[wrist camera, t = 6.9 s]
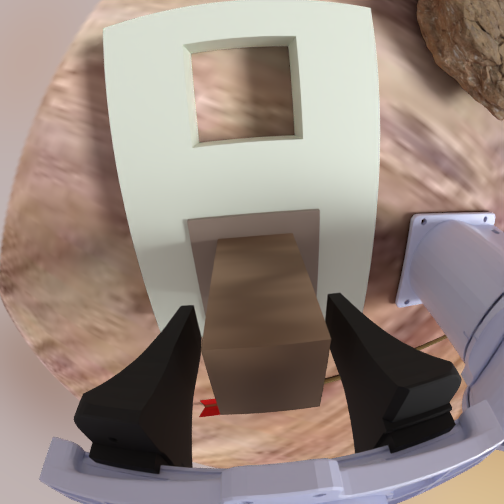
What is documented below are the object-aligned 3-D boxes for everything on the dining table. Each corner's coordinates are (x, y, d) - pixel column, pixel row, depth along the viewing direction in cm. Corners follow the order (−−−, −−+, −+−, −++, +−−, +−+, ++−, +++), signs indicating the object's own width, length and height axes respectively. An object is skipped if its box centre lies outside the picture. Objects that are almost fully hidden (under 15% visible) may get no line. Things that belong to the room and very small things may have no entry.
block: (292, 232, 16) (331, 338, 8) (292, 294, 17) (319, 406, 10) (217, 239, 16) (200, 349, 8) (226, 299, 17) (220, 414, 10)
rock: (362, -29, 10) (395, -58, 6) (454, -40, 8) (490, -54, 3) (452, 137, 16) (499, 151, 11) (521, 96, 13) (561, 104, 9)
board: (354, 18, 12) (372, 6, 10) (350, 300, 21) (362, 324, 19) (120, 37, 12) (100, 27, 10) (169, 315, 21) (161, 340, 19)
